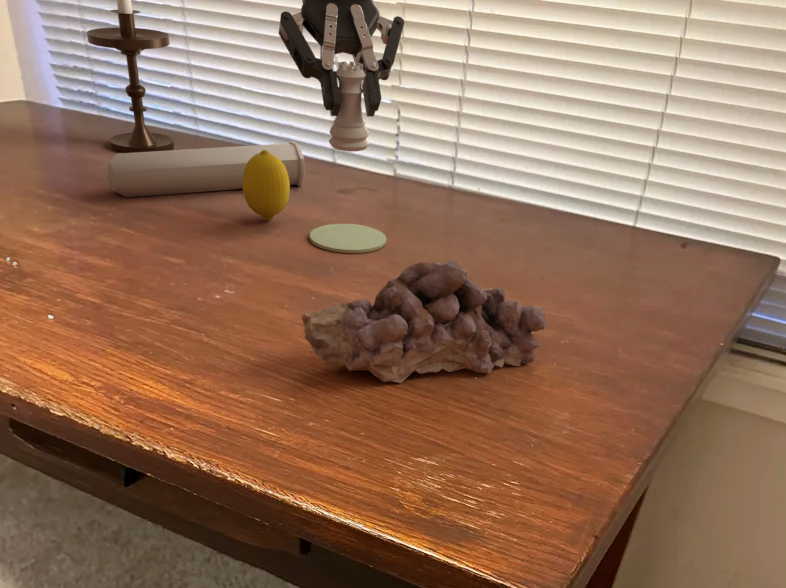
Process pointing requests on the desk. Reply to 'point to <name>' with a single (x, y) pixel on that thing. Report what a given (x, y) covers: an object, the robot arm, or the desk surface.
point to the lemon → (266, 184)
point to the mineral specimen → (426, 326)
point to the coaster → (347, 238)
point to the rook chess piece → (349, 110)
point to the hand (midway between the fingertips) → (354, 111)
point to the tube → (195, 169)
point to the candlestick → (133, 76)
